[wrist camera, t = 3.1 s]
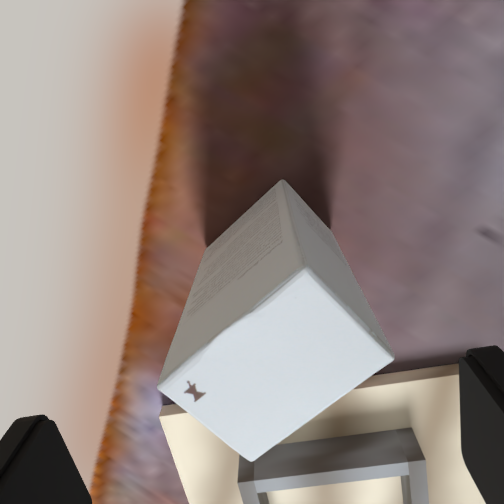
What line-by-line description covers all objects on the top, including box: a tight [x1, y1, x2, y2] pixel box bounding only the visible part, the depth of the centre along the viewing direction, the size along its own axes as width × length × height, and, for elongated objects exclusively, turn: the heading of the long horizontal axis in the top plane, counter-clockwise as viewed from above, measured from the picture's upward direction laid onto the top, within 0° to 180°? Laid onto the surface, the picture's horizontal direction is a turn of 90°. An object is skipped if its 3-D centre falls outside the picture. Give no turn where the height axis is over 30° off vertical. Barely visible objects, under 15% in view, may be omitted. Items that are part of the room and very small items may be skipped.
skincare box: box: [157, 179, 395, 462], centre depth 18 cm, size 6×4×12 cm
